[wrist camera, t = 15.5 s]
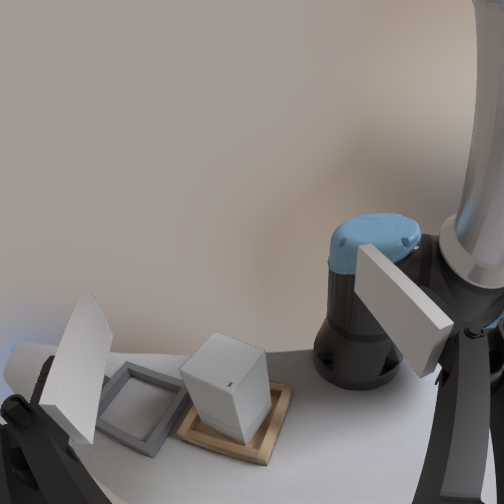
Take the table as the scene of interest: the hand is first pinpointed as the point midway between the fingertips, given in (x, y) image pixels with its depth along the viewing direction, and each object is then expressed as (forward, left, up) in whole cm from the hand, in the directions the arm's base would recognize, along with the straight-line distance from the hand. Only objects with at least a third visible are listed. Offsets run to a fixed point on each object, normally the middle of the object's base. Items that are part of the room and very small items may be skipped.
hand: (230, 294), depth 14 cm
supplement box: (-9, -7, -29) cm, 32 cm away
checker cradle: (-5, -22, -30) cm, 38 cm away
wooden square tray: (-9, -7, -30) cm, 32 cm away
